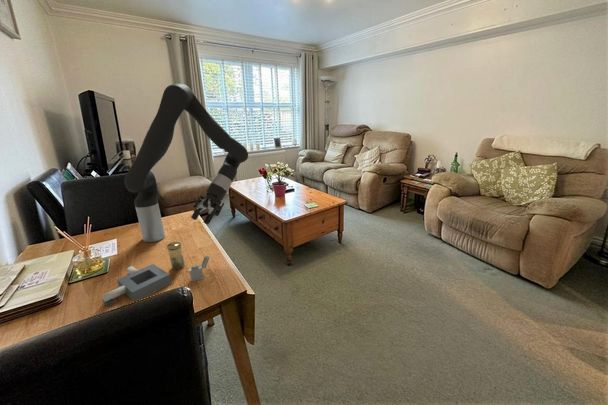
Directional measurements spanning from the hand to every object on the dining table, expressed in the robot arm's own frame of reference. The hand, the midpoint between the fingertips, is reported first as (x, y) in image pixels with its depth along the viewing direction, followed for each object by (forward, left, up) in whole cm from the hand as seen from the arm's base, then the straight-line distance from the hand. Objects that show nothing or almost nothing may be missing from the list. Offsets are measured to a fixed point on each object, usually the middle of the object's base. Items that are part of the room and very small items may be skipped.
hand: (199, 221), depth 108 cm
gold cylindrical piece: (0, -12, -15) cm, 19 cm away
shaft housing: (-1, -28, -15) cm, 31 cm away
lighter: (+14, -11, -15) cm, 23 cm away
